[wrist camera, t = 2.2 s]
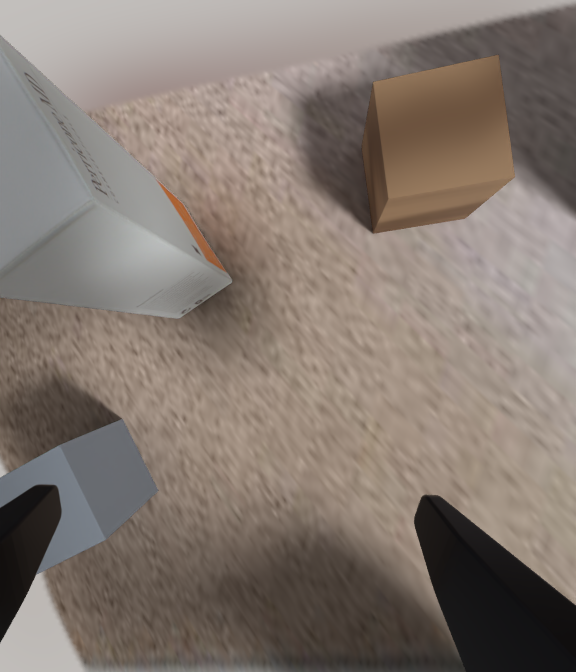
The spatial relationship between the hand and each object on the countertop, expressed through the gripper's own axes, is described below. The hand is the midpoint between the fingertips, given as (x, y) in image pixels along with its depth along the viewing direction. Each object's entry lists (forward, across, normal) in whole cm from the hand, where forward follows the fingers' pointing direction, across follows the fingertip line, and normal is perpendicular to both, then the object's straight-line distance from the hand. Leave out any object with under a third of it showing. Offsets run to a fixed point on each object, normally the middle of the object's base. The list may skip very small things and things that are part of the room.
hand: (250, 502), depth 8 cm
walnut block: (+14, -8, -9) cm, 18 cm away
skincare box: (+15, +5, -3) cm, 16 cm away
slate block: (+11, +8, +10) cm, 17 cm away
